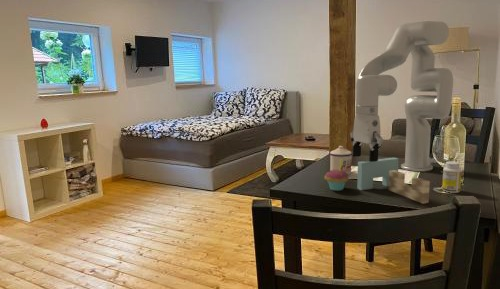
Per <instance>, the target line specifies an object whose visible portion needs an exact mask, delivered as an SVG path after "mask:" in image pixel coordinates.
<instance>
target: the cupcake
mask: <svg viewBox="0 0 500 289" xmlns="http://www.w3.org/2000/svg"><path fill="white" fill-rule="evenodd" d="M342 158H343V157H342ZM342 160H343V159H341V161H340V167H339V169H336V170H332V171H330V170H329V171H327V172H326V173H325V174H324V180H325V181H327V184H328V186H329V189H330V190H332V191H343V190H344V188H345V185H346V182H348V181H349V175H348V174H347V173H346V172H344V171H342V170H341V166H342Z"/></svg>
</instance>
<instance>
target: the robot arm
mask: <svg viewBox="0 0 500 289" xmlns="http://www.w3.org/2000/svg"><path fill="white" fill-rule="evenodd" d="M449 36H450V28H449V25H448V24H447V23H446V22H444V21H435V20H434V21H433V20H423V21H415V22H409V23H408V22H407V23H403V24H400V25H399V26H397V28H396V29H395V31H394V33H393V35H392V36H391V38H390V40H389V42H388V44H387V45H386V48H384V50H383V51H382V52H381V53H379V54H378V55H377V56H375V57H374V58H372V59H371V60H370V61H368V62H367V63H365V65H364V66H363V68H362V69H361V71H360V73H359V75H358V77H357V78H356V83H355V89H356V90H355V114H354V115H355V117H354V121H353V128H352V131H351V132H349V135H350V140H351V146H352V158H353V157H354V158H355V157H357V158H358V157H361V156H362V145H361V144H366V145H368V146H369V148H370V149H369V154H368V156H369V157H368V158H369V160H368V161H370V162H374V161H378V159H379V150H380V149H381V148H382V144H383V141H384V138H383V137H382V136H381V120H380V116H379V115H378V114H379V97H389V96H392V95H393V94H394V93H395V92H396V91H397V88H398V82H397V80H396V78H395V76H393V75H390V74H382V73H384V72H386V71H390V70H392V69H395V68H398V67H399V66H402V65H403V64H404V63H405V62H407V58H408V57H409V55H410V54H411V59H412V60H411V74H410V87H411V90H413V91H415V92H419V93H420V92H421V93H422V92H423V93H430V92H431V93H436V95H431V94H415V95H411V96H409V97H408V98H407V99H406V100H405V103H404V110H405V111H404V112H405V116H406V118H405V119H406V120H405V121H406V122H405V123H406V127H405V128H406V133H405V152H404V153H405V156H404V162H403V163H401V164H400V168H402V169H403V170H406V171H411V172H430V171H432V170H433V168H434V167H433V165H432V164H434V163H437V162H436V161H435V160H434V158H435V157H432V158H431V157H430V151H431V150H430V149H431V132H432V130H431V124H430V123H429V121H428V120H427V119H437V120H442V119H443V120H445V119H447V118H448V116H449V115H450V113H451V107H452V98H453V89H454V75H453V72H452V70H451V69H449V68H446V67H435V63H436V62H435V60H436V56H435V53H434V52H433V50H432V49H431V48H430V46H441V45H444V44H445V43H446V42H447V40H448V39H449Z"/></svg>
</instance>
